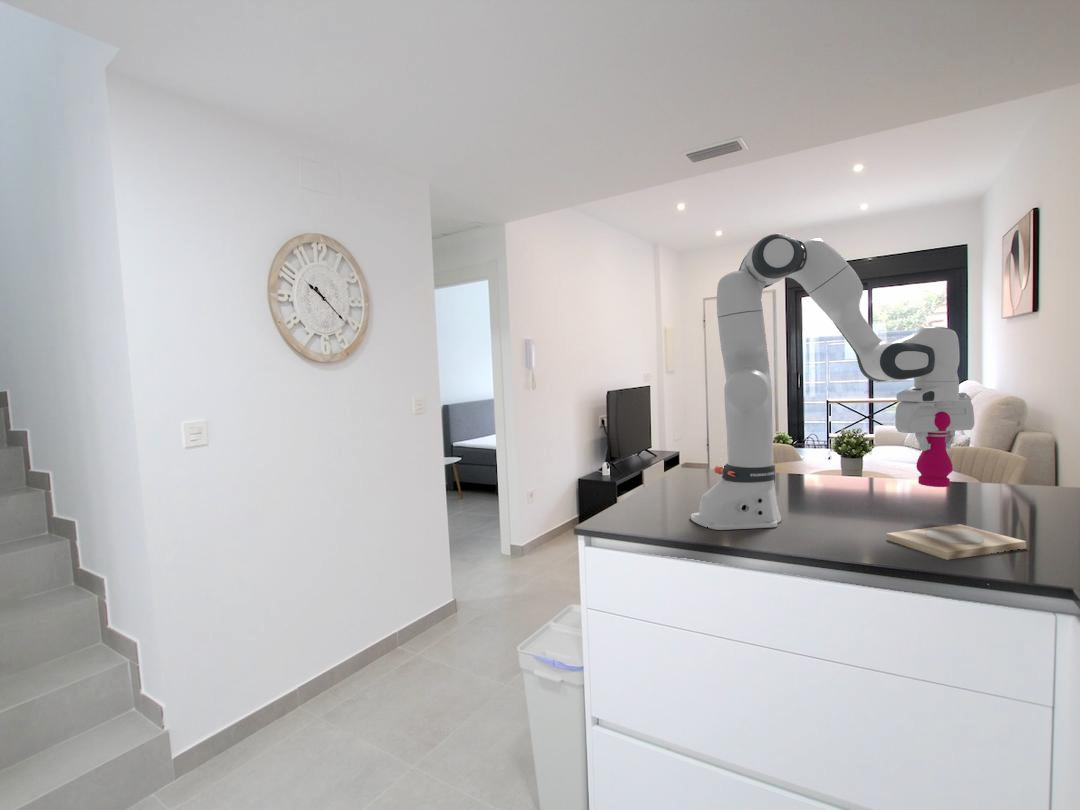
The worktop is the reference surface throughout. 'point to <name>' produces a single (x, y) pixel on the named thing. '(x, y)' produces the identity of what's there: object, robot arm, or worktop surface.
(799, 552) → the worktop surface
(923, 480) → the pepper mill
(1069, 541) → the worktop surface
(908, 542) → the oak board
